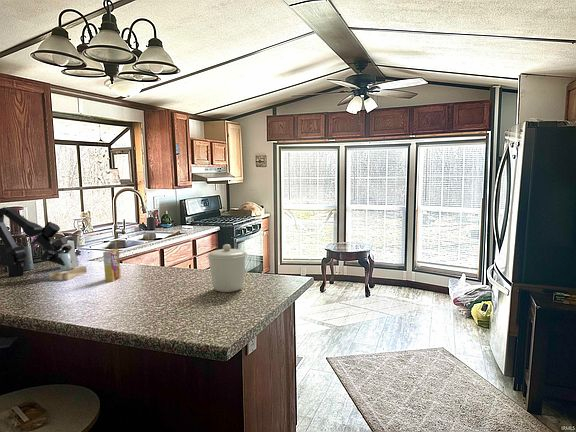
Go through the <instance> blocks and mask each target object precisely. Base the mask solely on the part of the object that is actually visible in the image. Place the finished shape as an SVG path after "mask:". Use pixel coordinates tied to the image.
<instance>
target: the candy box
mask: <svg viewBox="0 0 576 432" xmlns="http://www.w3.org/2000/svg"><path fill="white" fill-rule="evenodd" d="M102 253H103V254H102V256H103V257H102V258H103V266H104V267H103V268H104V276H105V277H104V278H105V279H104V280H105V282H108V283H109V282H111V283H112V282H115V281H117V280H119V279H120V278H122V274H121V273H122V272H121V262H120V251H119V248H111V249H108V250H105V251H103V252H102Z"/></svg>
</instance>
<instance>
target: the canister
mask: <svg viewBox="0 0 576 432" xmlns="http://www.w3.org/2000/svg"><path fill="white" fill-rule="evenodd" d="M247 255H248V253H247V252H245V251H244V250H242V249H237V248H232V246H231V244H228V243H226V244H223V245H222V248H221V249H215V250H212V251H210V252H209V253H207V255H206V257H207V258H208V263H209V270H210V278H211V283H212V287H213V289H214V291H217V292H220V293H231V292H233V293H234V292H237V291H239V290H241V289H242V287H243V286H244V279H245V278H244V277H245V269H246V267H245V266H246V256H247Z"/></svg>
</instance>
